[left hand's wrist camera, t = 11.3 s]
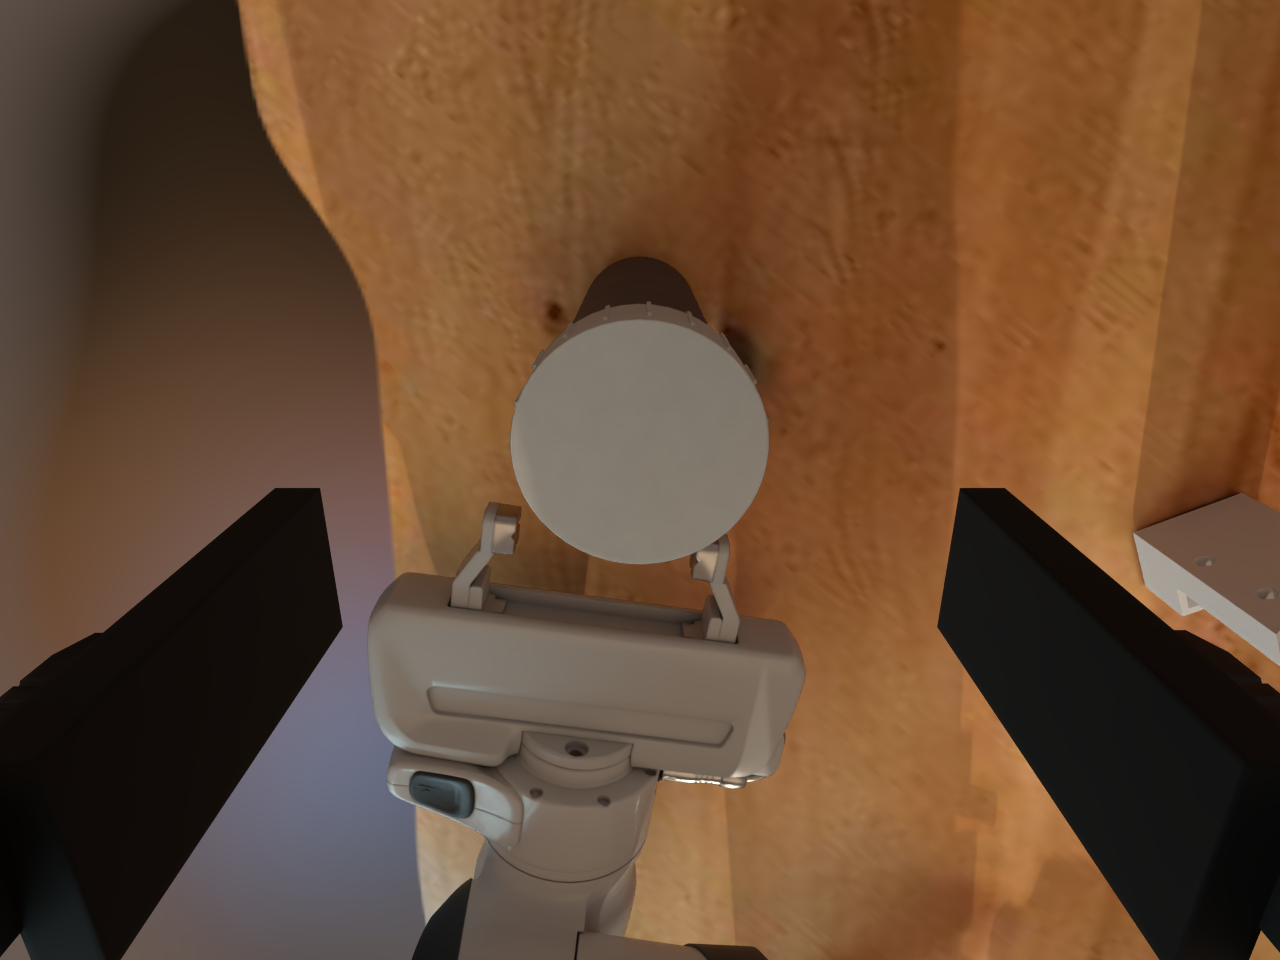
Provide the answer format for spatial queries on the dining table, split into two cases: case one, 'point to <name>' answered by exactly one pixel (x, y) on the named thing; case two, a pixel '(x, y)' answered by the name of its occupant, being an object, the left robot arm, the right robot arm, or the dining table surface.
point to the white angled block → (1220, 567)
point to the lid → (639, 435)
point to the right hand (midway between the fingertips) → (608, 522)
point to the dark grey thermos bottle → (639, 288)
